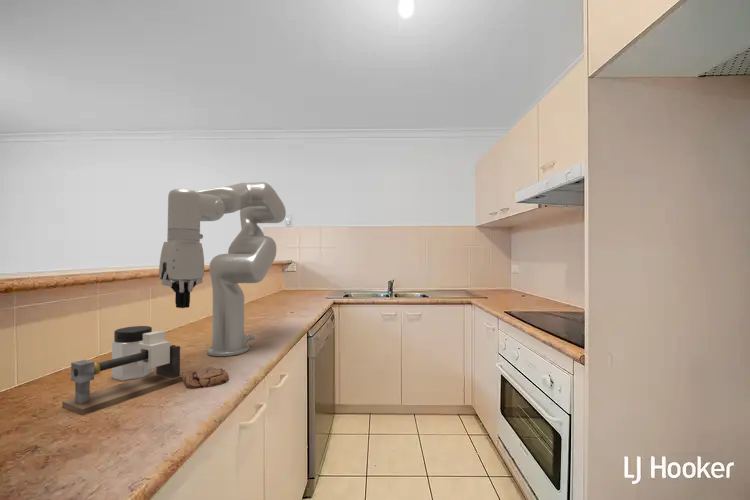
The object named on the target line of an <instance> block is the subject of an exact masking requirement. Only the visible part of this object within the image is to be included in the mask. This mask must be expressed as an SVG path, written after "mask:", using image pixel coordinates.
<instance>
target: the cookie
mask: <svg viewBox="0 0 750 500" xmlns="http://www.w3.org/2000/svg"><path fill="white" fill-rule="evenodd" d="M183 379H184V380H183V384H184V386H185V387H186V388H187V389H197V388H203V389H204V388H212V387H215V386H221V385H223V384H225V383H228V381H229V379H230V376H229V372H228V371H227V370H226V369H223V368H221V367H219V368H218V367H214V366H213V367H212V366H206V367H200V368H198V369H197V370H196V371H194V372H193V371H188V372H187V373H185V374H184V376H183Z"/></svg>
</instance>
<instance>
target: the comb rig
mask: <svg viewBox="0 0 750 500" xmlns="http://www.w3.org/2000/svg"><path fill="white" fill-rule="evenodd" d="M145 359H148V351H146V352H142V353H137V354H133V355H129V356H125V357H121V358H117V359H113V360H112V359H110V360H104V361H100V362H99V361H97V360H96V361H92V360H87V359H82V360H78V361H73V362H70V363H71V364H70V367H71V369H70V373H71V374H70V381H71V382H75V383H74V384H75V385H74V386H75V391H74V394H75V396H74V397H72V398H69V399H65V400H62V405H61V407H62V408H63V409H66V410H68V411H71V412H74V413H76V414H78V415H82V416H85V415H87V414H90V413H94V412H96V411H99V410H102V409H105V408H107V407H111V406H113V405H117V404H119V403H122V402H125V401H128V400H131V399H134V398H137V397H140V396H143V395H146V394H149V393H152V392H155V391H157V390H160V389H163V388H165V387H166V388H167V387H168V386H171V385H174V384H177V383H180V382H184V380H183V379H184V376H183V375H181V346H179V345H174V344H173V345H170V363H168V364H165V365H161V366H158V367H155V373H151V374H148V375H147V376H145V377H142V378H137V379H131V380H127V381H125V382H122V383H119V384H116V385H112V386H109V387H106V388H103V389H100V390H99V389H98V390H96V391H92V392H91V391H90V390H91V388H90V387H91V385H90V381H93V380H95V376H97V375H99V374H100V372H102V371H106V370H110V369H111V370H112V368H115V367H118V366H122V365H126V364H130V363H134V362H138V361H141V360H145Z"/></svg>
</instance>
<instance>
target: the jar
mask: <svg viewBox="0 0 750 500" xmlns="http://www.w3.org/2000/svg"><path fill="white" fill-rule="evenodd" d="M152 329H153V327H152V326H148V325H135V326H134V325H133V326H127V327H121V328H118V329H116V330H114V336H113V337H114V338H113V339H114V340H112V342H111V360H113V359H117V358H121V357H125V356H129V355H133V354H137V353H138V343H143V334H144V333H150V332H153V330H152ZM153 372H154V368H148V367H143V366H139V365H138V362H134V363H130V364H126V365H122V366H118V367H115V368H111V378H112V379H114V380H119V381H122V382H124V381H125V382H126V381H132V380H135V379H138V378H142V377H145V376H148V375H151V374H153Z"/></svg>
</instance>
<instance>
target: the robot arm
mask: <svg viewBox="0 0 750 500" xmlns="http://www.w3.org/2000/svg"><path fill="white" fill-rule="evenodd" d="M167 198H168V199H167V241H164V242H163V245H162V248H161V252H160V258H159V267H158V268H159V269H158V278H159V280H161V285H162V286H165V287H170V288H171V290H173V292H174V293H175V297H174V298H175V300H174V301H175V302H174V303H175V307H176V308H177V309H178V308H179V309H185V308H187V309H188V308H190V303H191V292H193V289H194V288H195V287H196V286H198V285H200V284H203V282H204V281H203V278H204V276H205V256H204V249H203V244H202V243H201V240H203V238H204V236H203V235H204V234H201V222H215V221H219V220H221V219H222V217H223V216H224V215H225V214H226V215H227V214H232V213H236V212H239V217H240V226H241V228H240V229H241V230H240V231H239V233H238V234H237V235H236V236H235V238H234V239H233V240H232V242H231V243H230V245H229V247H228V249H227V250H228V251H227V253H221V254H217V255H215V256H214V257H212V259H211V260H210V263H209V266H208V267H209V268H208V269H209V270H208V271H209V276H210V281H211V288H212V334H211V335H212V339H211V340H212V341H211V342H212V346H210V347H208V348H207V350H206V354H207V355H209V356H213V357H230V356H237V355H241V354H244V353H246V352H248V351H249V350H250V345H249V344H247V343H248V342H249V341H250V342H251V341H252V340H255V338H256V335H255V334H254V333H251V334H248V335H247V334H245V295H244V292H243V289H242V288H241V287H240V285H239V284H257V283H260V282H262V281H263V280H264V278H265V277H266V276H267V274H268V272H269V271H270V268H271V267H272V265H273V263H274V261H275V259H276V258H277V257H276V256H277V244H276V241H275V240H274V239H273V238H272V237H270V236H267V235H265V234H264V231H263V230H262V229H261V227H260V225H258V224H278V223H282V222H283V221H284V220H285V218H286V212H287V211H286V207H285V205H284V202H283V200H282V199H281V198H280V196H279V195H278V193H277V191H276V190H275V189H274V188H273V186H271V185H270V184H268V183H267V182H241V183H235V184H231V185H226V186H221V187H216V188H210V189H205V190H204V189H203V190H198V191H195V190H192V189H188V188H187V189H186V188H175V189H171V190H170V191H169V192H168V196H167Z"/></svg>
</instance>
